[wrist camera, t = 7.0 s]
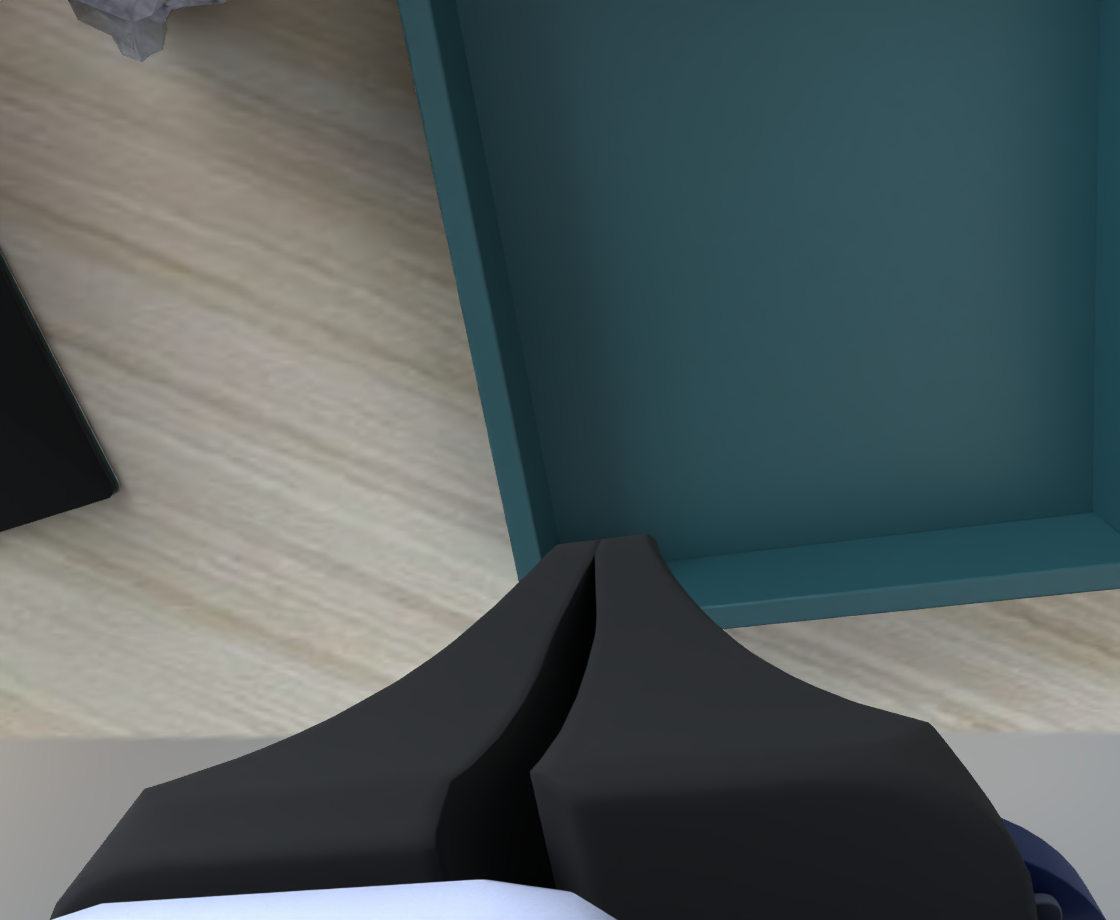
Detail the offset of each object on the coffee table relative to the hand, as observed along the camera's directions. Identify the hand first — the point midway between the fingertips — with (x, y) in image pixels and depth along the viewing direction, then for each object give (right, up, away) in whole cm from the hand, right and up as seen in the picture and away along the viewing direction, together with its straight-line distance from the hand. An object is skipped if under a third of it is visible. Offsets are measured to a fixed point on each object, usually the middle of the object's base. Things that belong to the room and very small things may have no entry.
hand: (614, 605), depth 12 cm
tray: (+4, +7, +7) cm, 11 cm away
